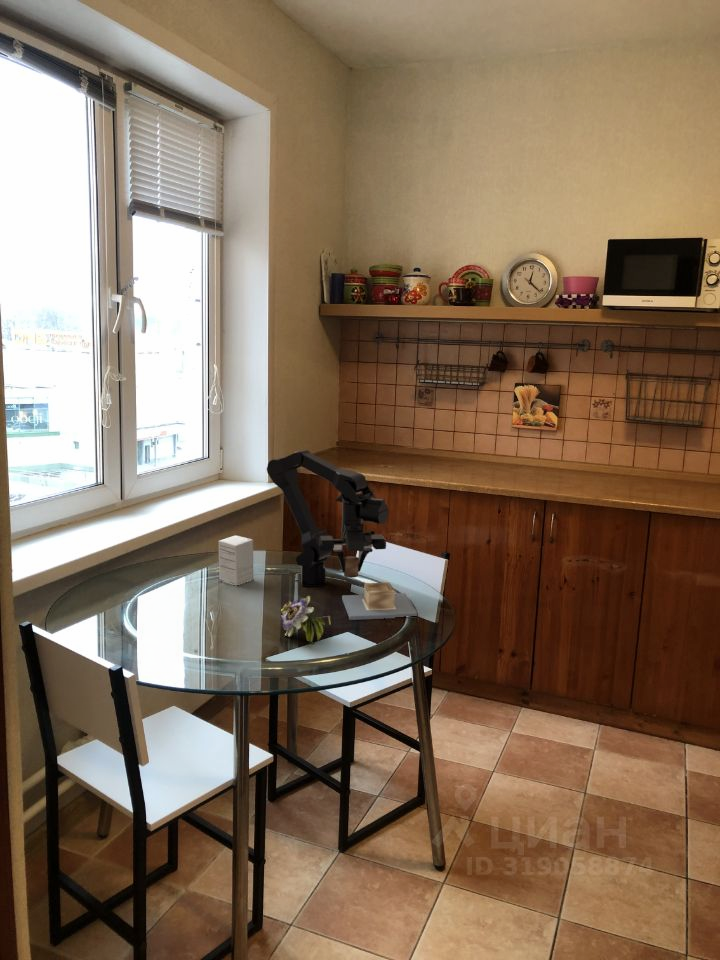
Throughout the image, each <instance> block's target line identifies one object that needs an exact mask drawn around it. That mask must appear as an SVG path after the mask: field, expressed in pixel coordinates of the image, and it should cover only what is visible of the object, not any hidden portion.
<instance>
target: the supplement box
mask: <svg viewBox="0 0 720 960" xmlns="http://www.w3.org/2000/svg"><path fill="white" fill-rule="evenodd" d="M217 541H218V575H219V576H218V577H219V579H222V580H224V581H227V582H229V583H232V584H235V585H239V586H241V585H240V584H242V583H244V584H246V583H245V582H247V581H249V582H251V581H250V580H252V581H254V580H253V579H255V578H254V539H251V538H249V537H248V538H247V537H244V536H240V535H232V536H229V537H226V538H224V539H220V540H217ZM219 579H218V580H219ZM247 583H248V582H247ZM242 585H243V584H242Z"/></svg>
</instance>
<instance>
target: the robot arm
mask: <svg viewBox="0 0 720 960" xmlns="http://www.w3.org/2000/svg"><path fill="white" fill-rule="evenodd" d="M301 467H302V468H304V469H305V470H308V471H310V472H311V473H313V474H315V475H317V476H318V477H320V478H322V479H324V480H325V481H328V482H329V483H331V485H333V487H334V489H335V490H336V491H337V492H339V493H340V495H338V497H336V498H335V501H336V502H339V503H342V505H341V506H342V507H341V508H342V509H341V511H342V512H341V513H342V514H341V519H342V520H341V538H334V537H333V536H332V535H329V533H328V530H326V529H325V530H321V529H320V528H319V527H318V525H317V524H316V522H315V520H314V517H313V515H312V512H311V511H310V508H309V506H308V503H307V502H306V499H305V498H304V495H303V493H302V490H301V488H300V486H299V484H298V478H299V477H298V476H299V472H298V469H299V468H301ZM266 472H267V474H268V477H269V478H270V480H271V481H272V483H273V484H274V485H276V486H277V487H278V488H279V489H280V490H281V491H282V493H283V495H284V497H285V500H286V502H287V504H288V507H289V509H290V511H291V513H292V515H293V518H294V520H295V522H296V524H297V527H298V529H299V531H300V534H301V539H300V540H301V541H300V542H301V543H300V544H301V549H302V552H301V553H300V554H298V556H296V557H295V560H296V564H297V566H300V569H301V570H300V578H299V579H300V580H299V581H300V583H301V587H323V586H325V582H326V567H325V565H324V562H327V560H328V559H329V556H330V555H331V554H332V553H333V554H336V556H338V557H337V558H338V560H339V563H340V566H341V571H342V572H343V573H344V572H345V564H344V558H345V555H344V553H345V552H344V551H345V550H343V549H344V548H343V547H346V550H347V552H349V553H350V552H351V553H352V552H358V556H357V557H358V558H359V563H358V573H360V572H361V569H362V567H363V564H364V562H365V559H366V557H367V556H368V554H370V553H372V552H373V549H375V550H385V549H387V540H386V539H385V537H384V536H383V535H382V534H372V532H364V530H363V529H364V528H363V522H367V523H372V524H378V525H385V524H386V523H387V521H388V519H389V516H390V509H389V506H388V504H386V500H385V499H384V498H376V497H375V495H374V493H373V492H372V490H371V488H370V487H369V484H368V483H367V479H366V476H365V475H364V474H362V473H360V472H358V471H355V470H351V469H345V468H344V469H343V468H340V467H338V466H336V465H335V464H333V463H331V462H329V461H327V460H324V459H323V458H321V457H319V456H317V455H316V454H313V453H311V452H310V451H309V450H307V449H302V450H297V451H295V452H294V453H291V454H290V455H286V456H282V457H278V458H275V459H274V458H273V459H270V461H269V462H268V463H267V467H266ZM358 494H359V495H358ZM372 547H373V548H372Z"/></svg>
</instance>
